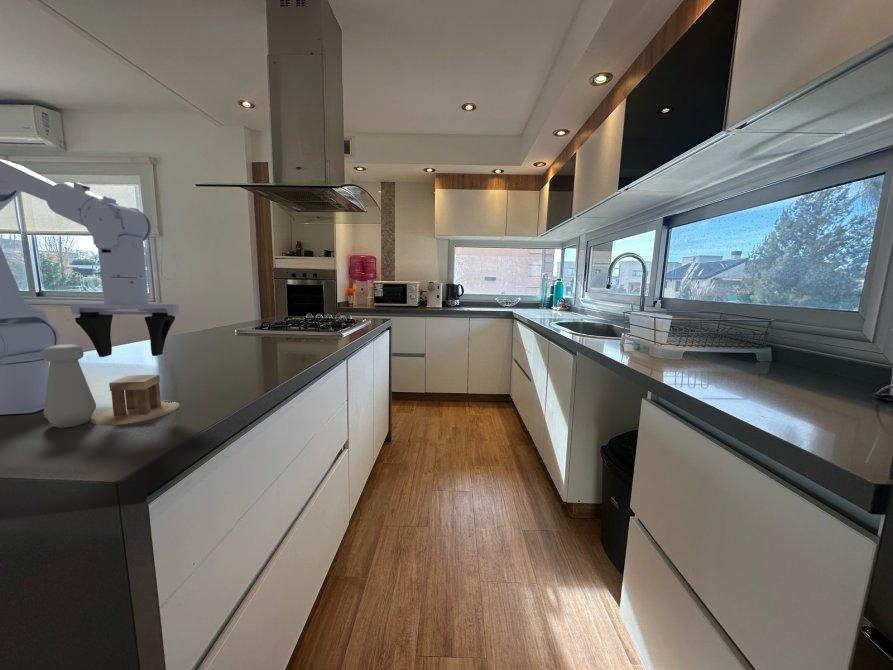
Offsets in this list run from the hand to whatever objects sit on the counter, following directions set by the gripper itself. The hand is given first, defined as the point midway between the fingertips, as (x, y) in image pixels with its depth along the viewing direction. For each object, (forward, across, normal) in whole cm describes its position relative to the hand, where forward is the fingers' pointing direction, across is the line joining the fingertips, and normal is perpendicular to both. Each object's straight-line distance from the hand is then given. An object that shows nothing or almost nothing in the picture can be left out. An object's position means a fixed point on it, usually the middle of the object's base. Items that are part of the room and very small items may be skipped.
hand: (131, 355), depth 61 cm
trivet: (+11, 0, 0) cm, 11 cm away
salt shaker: (+11, -7, -4) cm, 13 cm away
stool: (+10, 0, 0) cm, 10 cm away
